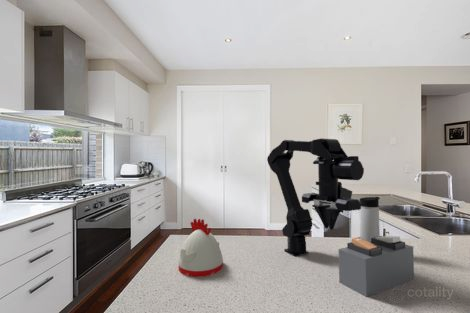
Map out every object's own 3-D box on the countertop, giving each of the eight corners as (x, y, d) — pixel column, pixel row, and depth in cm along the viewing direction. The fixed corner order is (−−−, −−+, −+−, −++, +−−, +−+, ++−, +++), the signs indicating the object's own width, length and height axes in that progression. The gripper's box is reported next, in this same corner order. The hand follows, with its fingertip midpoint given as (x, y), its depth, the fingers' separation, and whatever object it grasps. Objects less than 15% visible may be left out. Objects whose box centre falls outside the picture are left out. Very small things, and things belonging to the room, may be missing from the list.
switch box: (339, 282, 67) (338, 243, 67) (385, 268, 75) (384, 234, 76) (366, 296, 60) (365, 253, 60) (414, 279, 68) (413, 241, 69)
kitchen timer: (200, 255, 87) (200, 213, 88) (231, 264, 79) (231, 217, 80) (169, 269, 76) (169, 220, 76) (201, 281, 68) (201, 227, 68)
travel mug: (383, 255, 85) (382, 198, 86) (363, 254, 87) (362, 197, 87) (377, 249, 91) (376, 195, 92) (358, 248, 93) (357, 195, 93)
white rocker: (376, 242, 71) (375, 237, 72) (383, 240, 73) (382, 236, 73) (393, 242, 67) (392, 238, 67) (400, 241, 68) (399, 236, 69)
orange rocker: (351, 242, 67) (352, 238, 67) (359, 240, 69) (360, 236, 68) (368, 253, 63) (369, 248, 63) (376, 251, 64) (377, 246, 64)
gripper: (373, 179, 72) (374, 232, 72) (324, 176, 89) (325, 219, 88) (346, 180, 67) (347, 238, 67) (300, 177, 84) (301, 223, 83)
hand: (329, 228), depth 76 cm, fingers closed
